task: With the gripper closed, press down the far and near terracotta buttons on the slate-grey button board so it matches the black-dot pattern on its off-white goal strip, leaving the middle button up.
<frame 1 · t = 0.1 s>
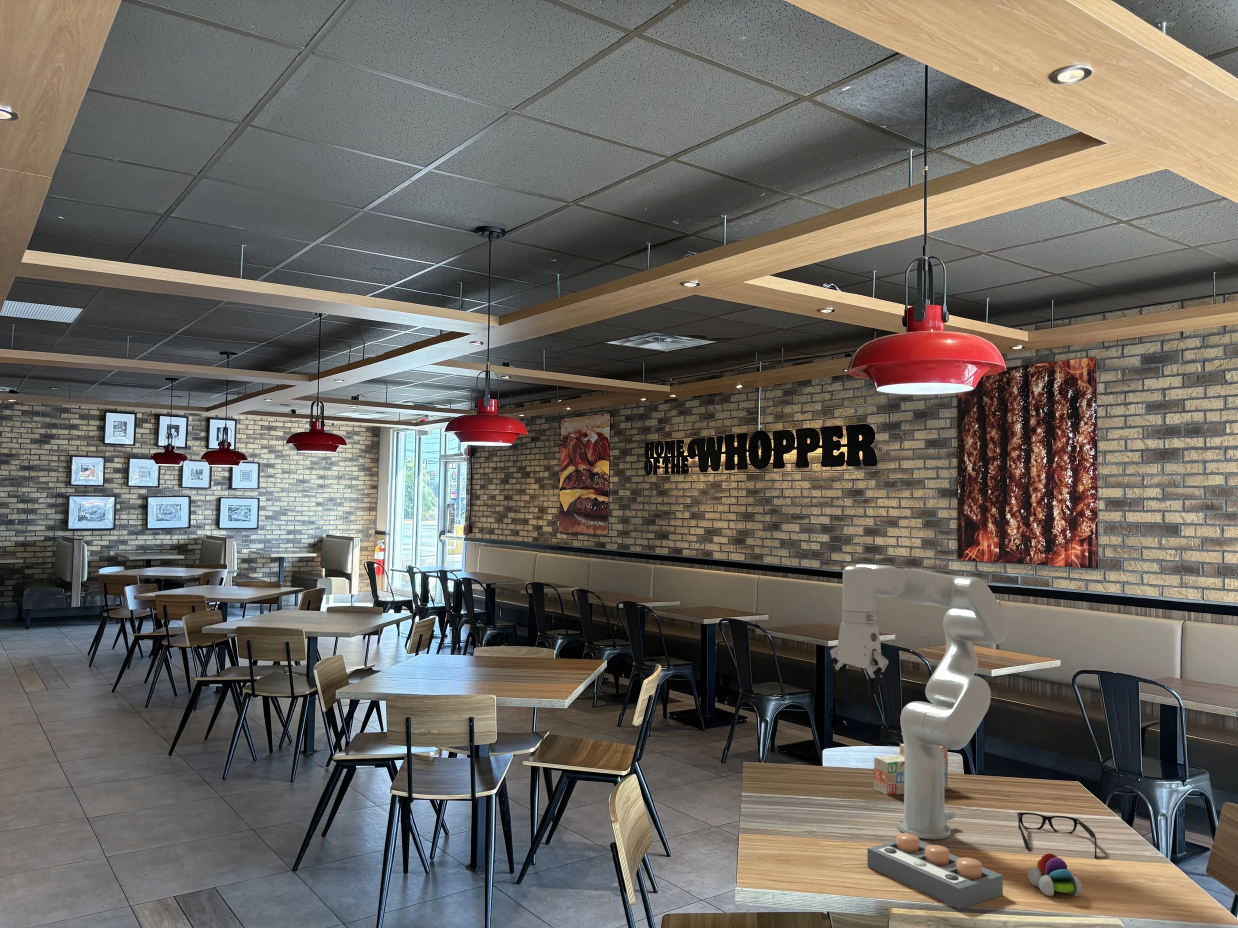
hand: (857, 690, 208), 37 cm above the table, tool pointing down, fingers open, 9 cm apart
button b: (937, 856, 189), point 5 cm above the table, slide at 0.0 cm
button board: (932, 879, 188), on the table
stack of blocks: (910, 789, 252), on the table
rainbow wheeled toy: (1055, 891, 184), on the table
button a: (907, 843, 196), point 5 cm above the table, slide at 0.0 cm
glasses: (1054, 843, 213), on the table
button c: (969, 869, 182), point 5 cm above the table, slide at 0.0 cm
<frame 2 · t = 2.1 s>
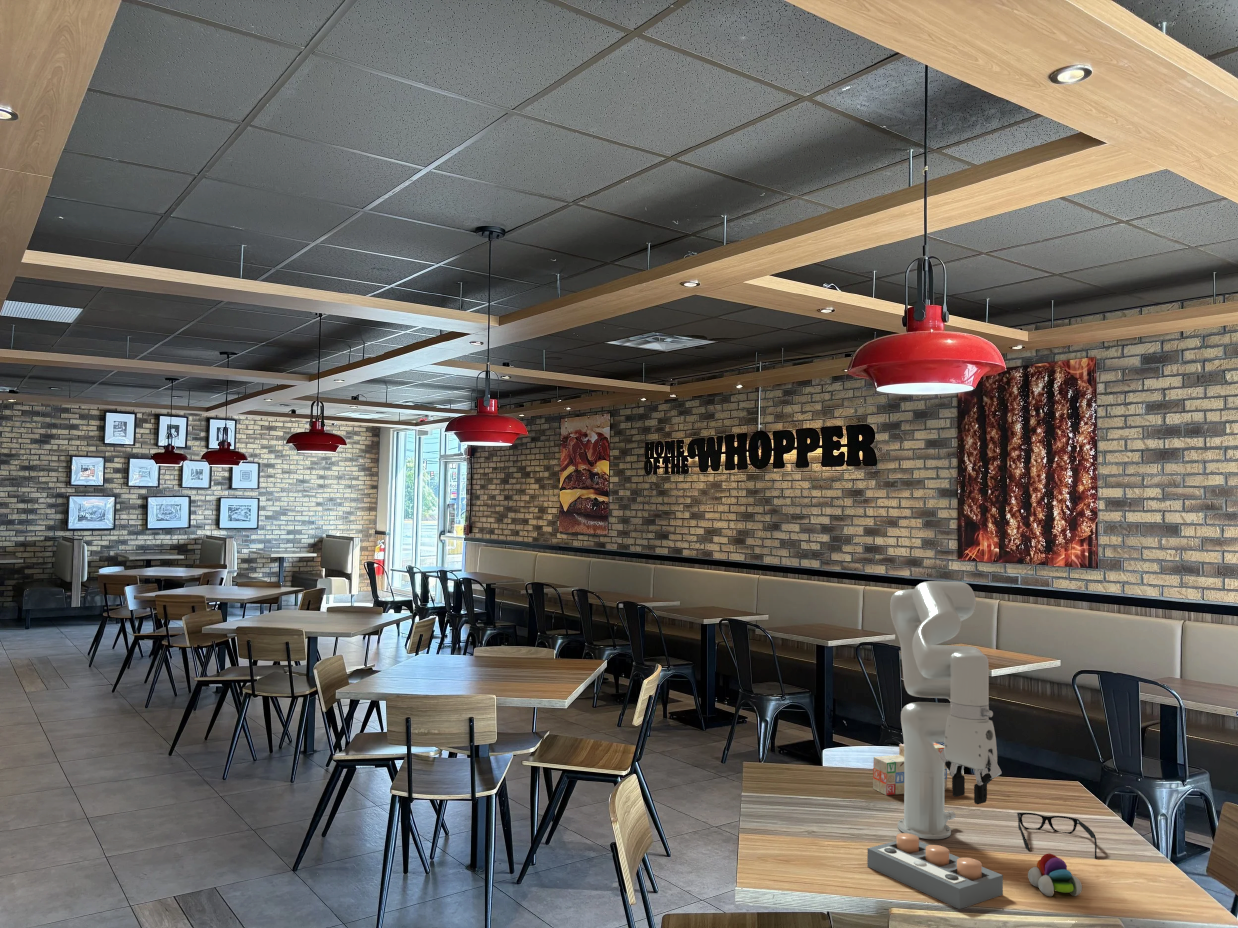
hand: (969, 798, 183), 19 cm above the table, tool pointing down, fingers open, 4 cm apart
nothing on the table moved.
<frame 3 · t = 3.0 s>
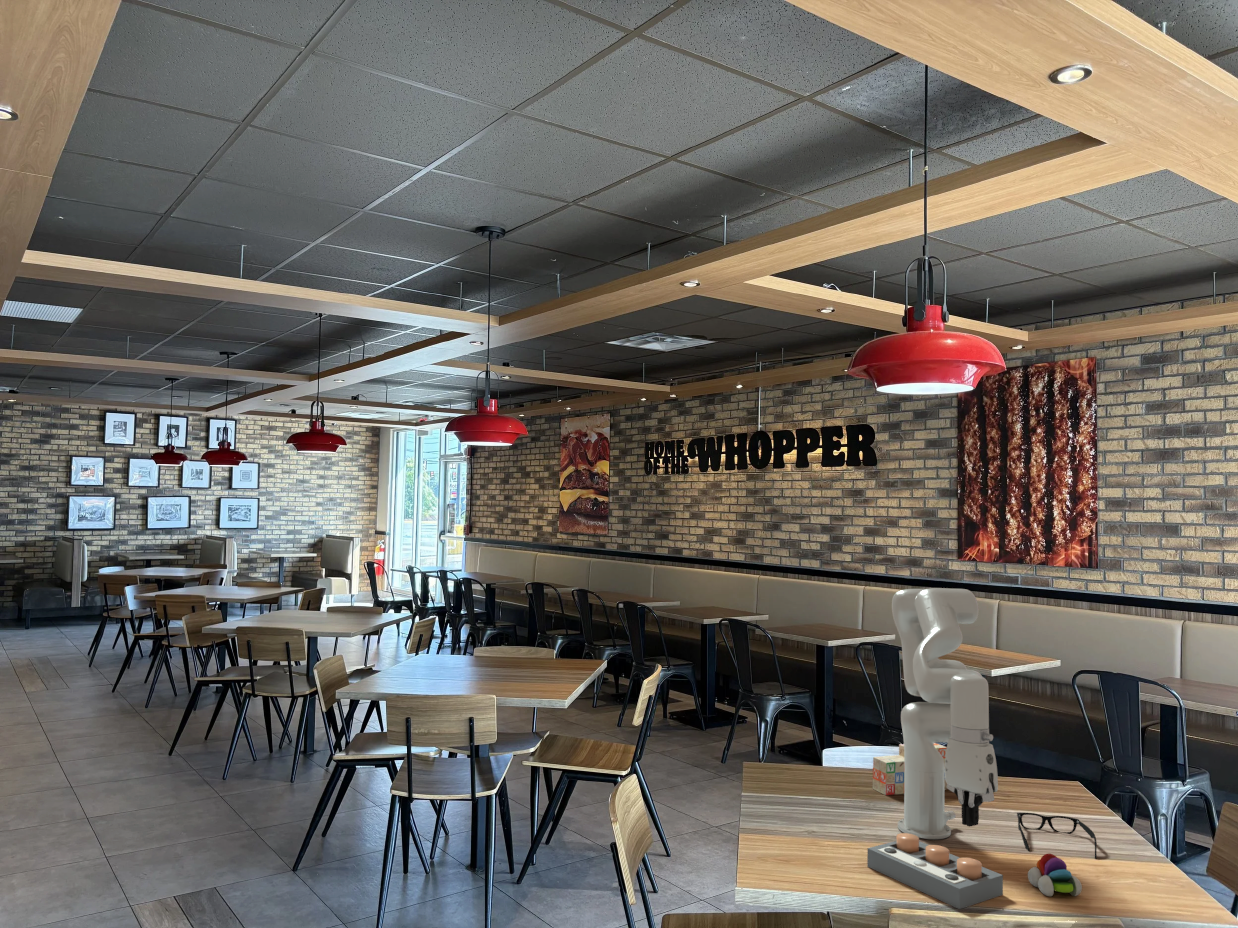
hand: (970, 824, 182), 14 cm above the table, tool pointing down, fingers closed
nothing on the table moved.
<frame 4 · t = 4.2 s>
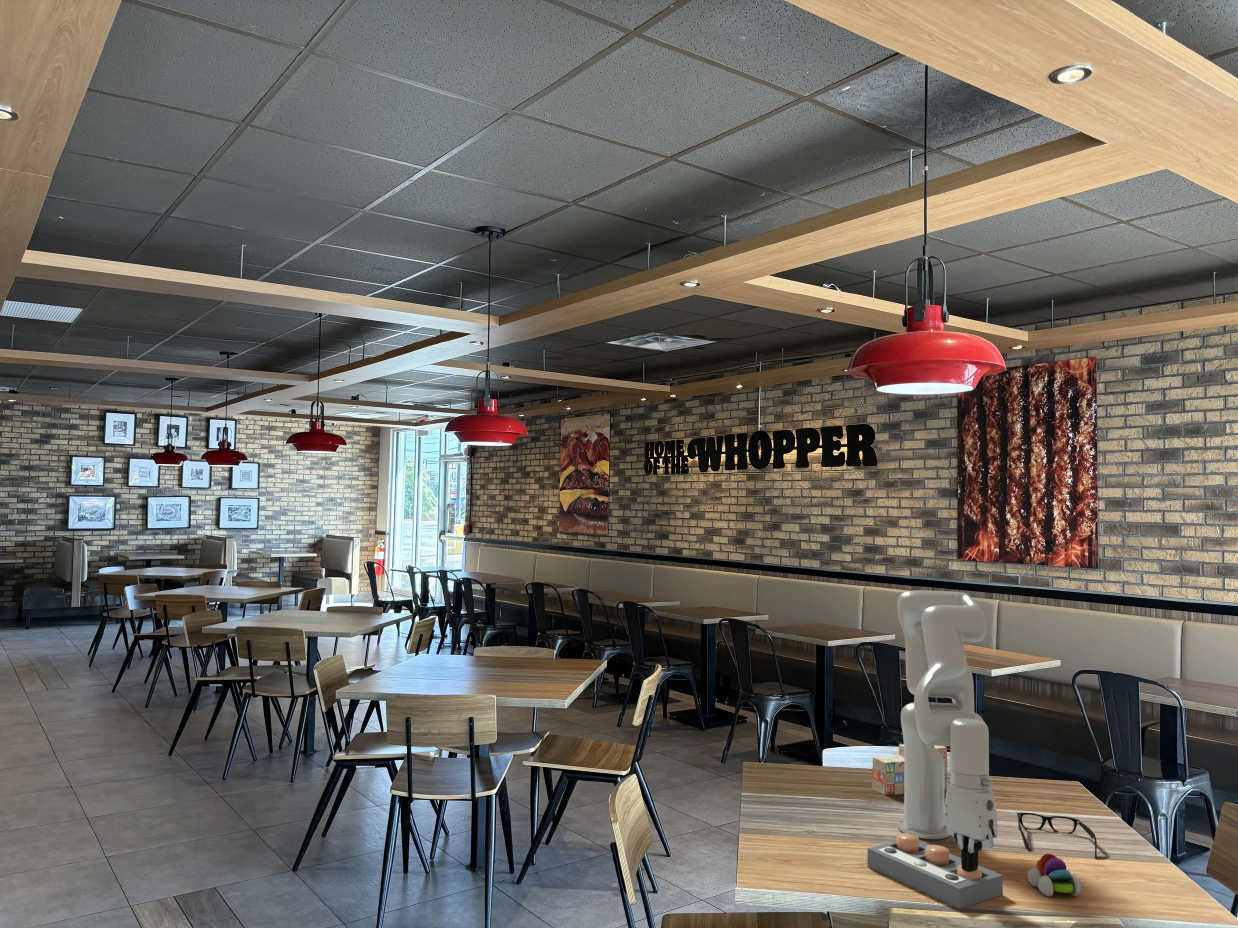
hand: (969, 869, 182), 5 cm above the table, tool pointing down, fingers closed
button c: (969, 876, 182), point 3 cm above the table, slide at 1.5 cm, touching gripper
everything else where it was.
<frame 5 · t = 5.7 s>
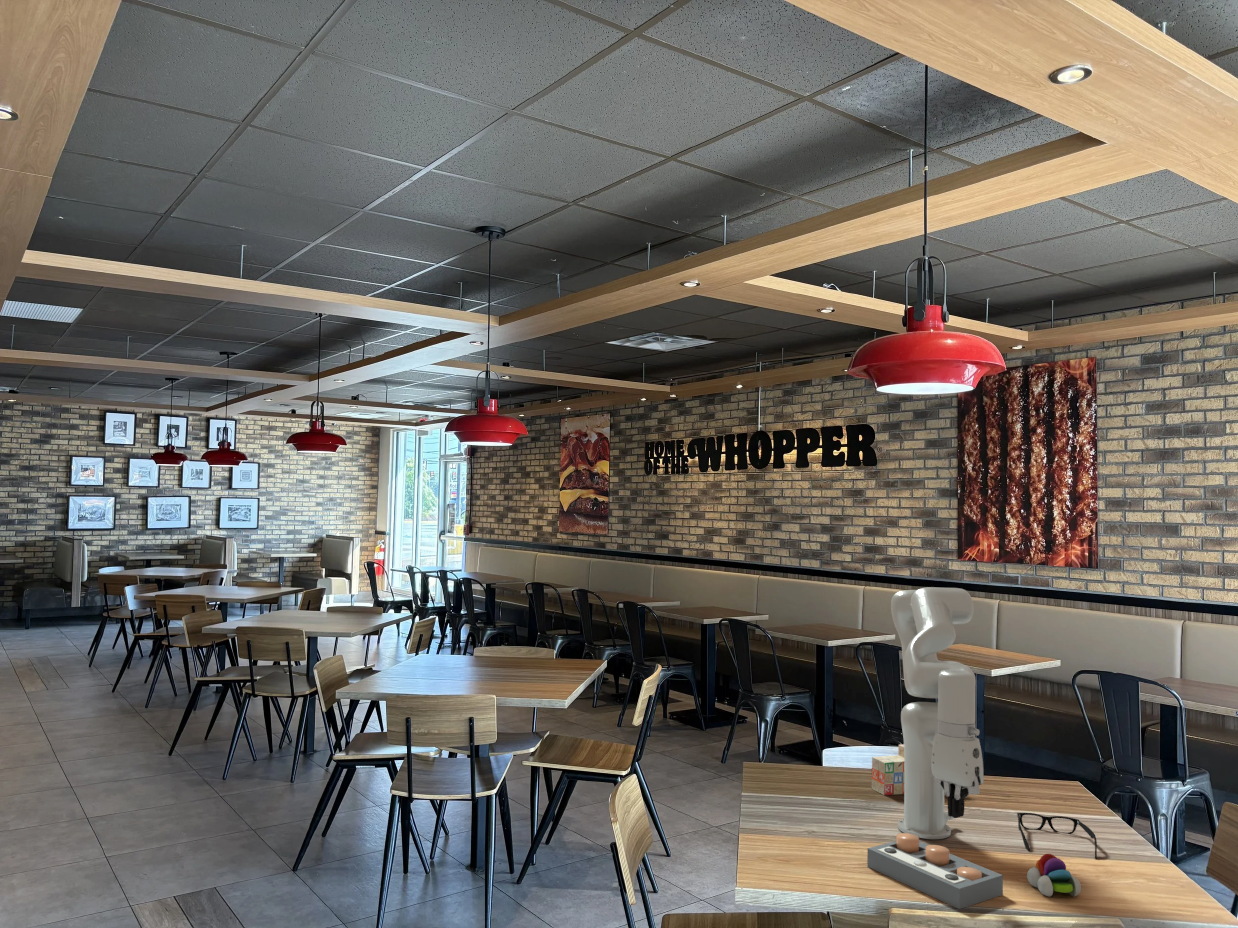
hand: (955, 815, 186), 15 cm above the table, tool pointing down, fingers closed
button c: (969, 878, 182), point 3 cm above the table, slide at 1.9 cm
everything else where it was.
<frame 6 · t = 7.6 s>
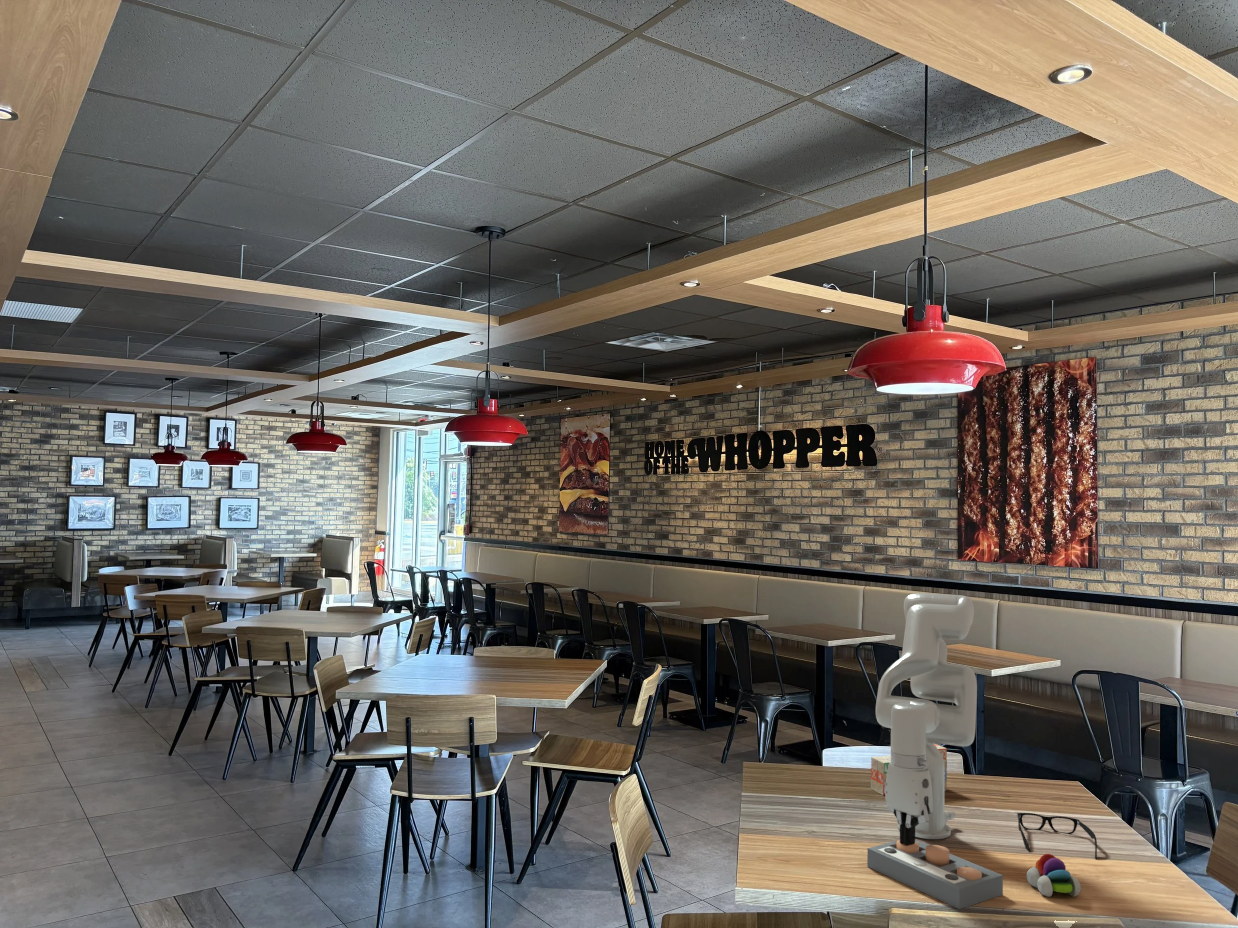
hand: (907, 843, 196), 5 cm above the table, tool pointing down, fingers closed
button a: (907, 849, 196), point 3 cm above the table, slide at 1.4 cm, touching gripper
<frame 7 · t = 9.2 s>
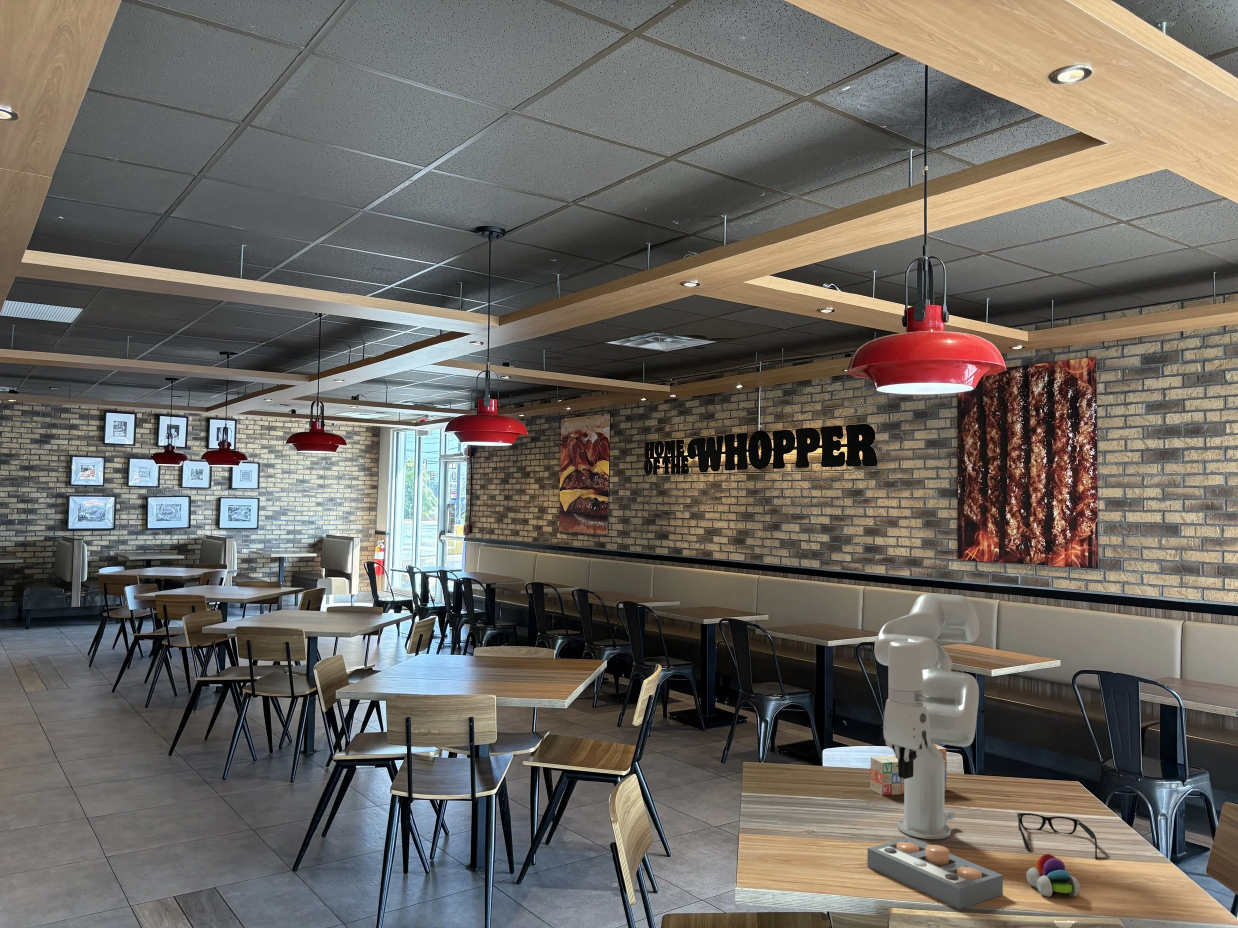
hand: (905, 776, 199), 19 cm above the table, tool pointing down, fingers closed
button a: (907, 852, 196), point 3 cm above the table, slide at 1.9 cm
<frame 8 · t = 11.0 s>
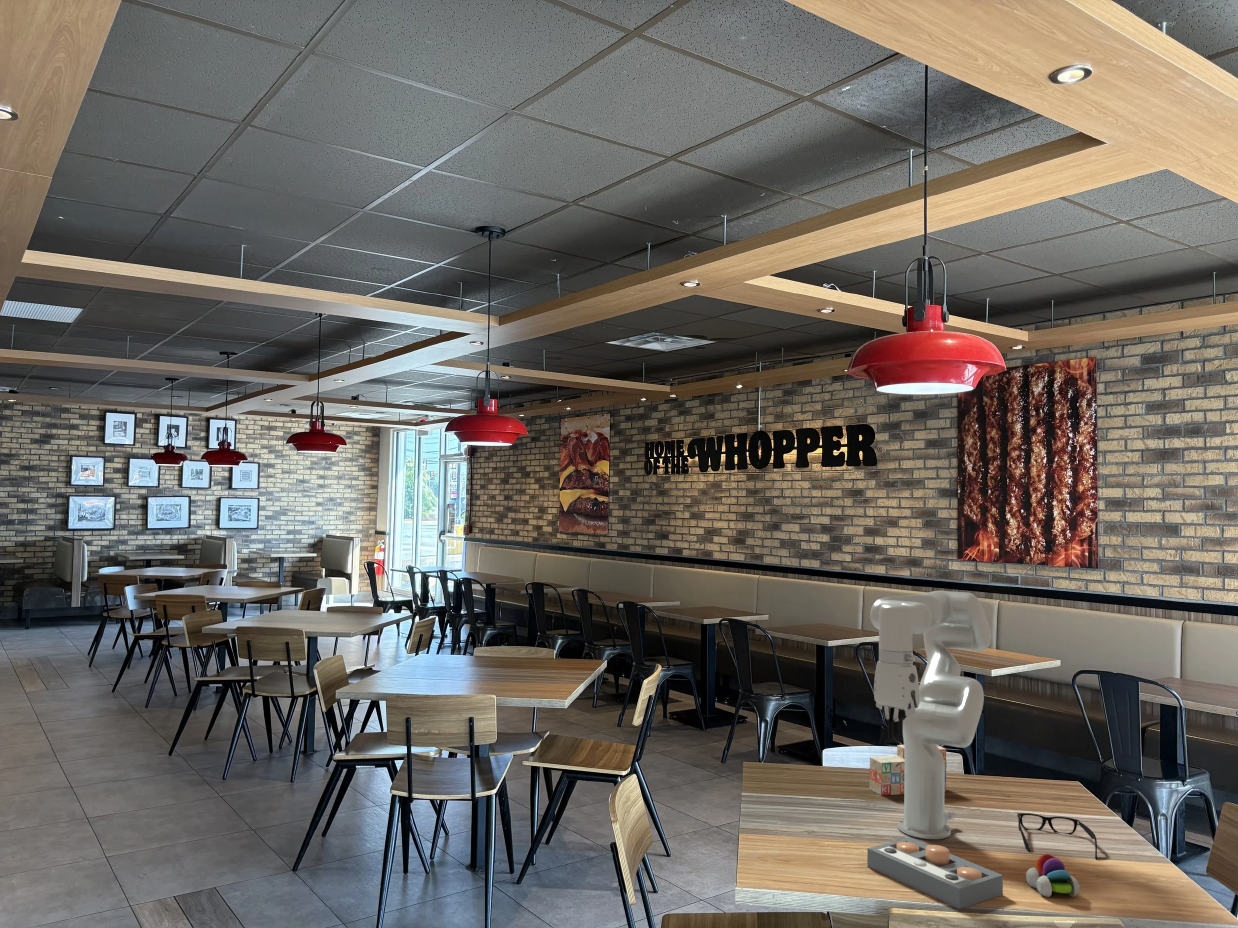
hand: (895, 737, 202), 27 cm above the table, tool pointing down, fingers closed
at the end: button c slide at 1.9 cm; button a slide at 1.9 cm; button b slide at 0.0 cm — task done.
